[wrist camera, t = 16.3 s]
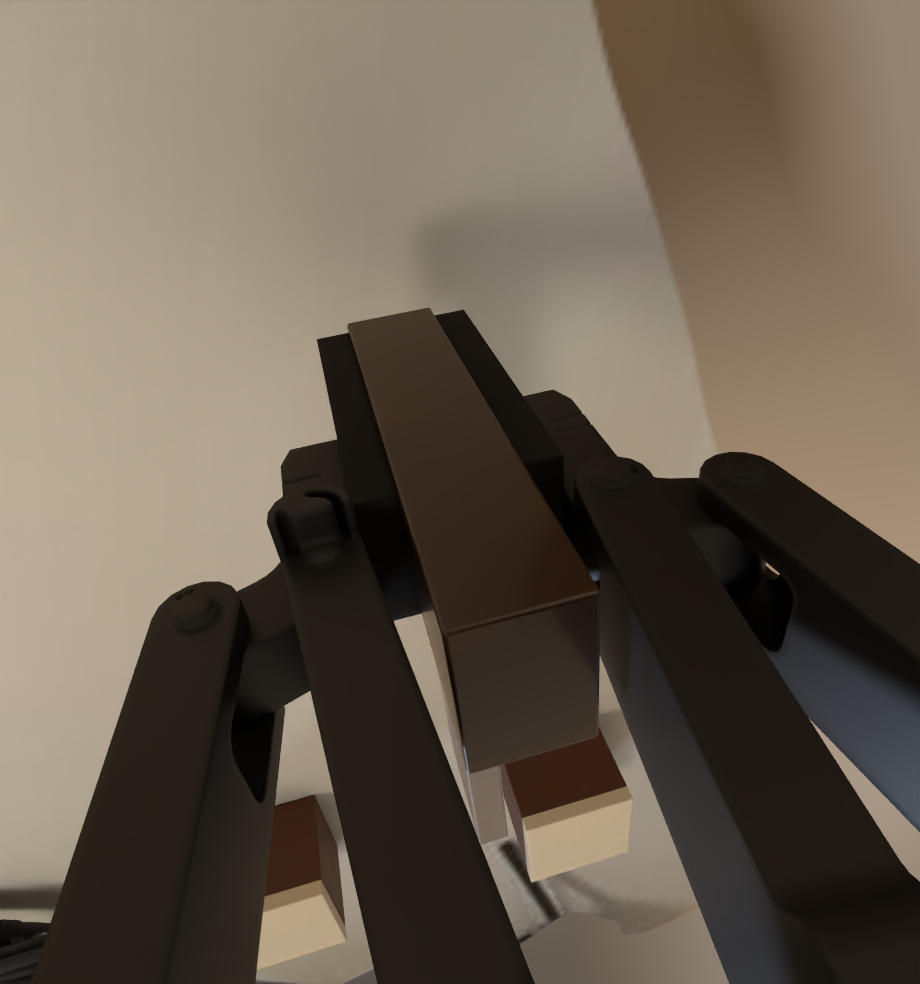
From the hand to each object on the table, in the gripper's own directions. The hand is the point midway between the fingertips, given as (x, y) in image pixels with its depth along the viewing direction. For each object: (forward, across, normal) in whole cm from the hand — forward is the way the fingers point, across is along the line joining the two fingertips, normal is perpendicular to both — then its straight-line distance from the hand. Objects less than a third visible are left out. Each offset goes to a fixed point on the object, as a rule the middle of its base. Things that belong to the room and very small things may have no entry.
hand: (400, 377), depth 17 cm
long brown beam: (0, 0, -7) cm, 7 cm away
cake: (+8, +6, -32) cm, 33 cm away
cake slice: (+8, -11, -32) cm, 34 cm away
